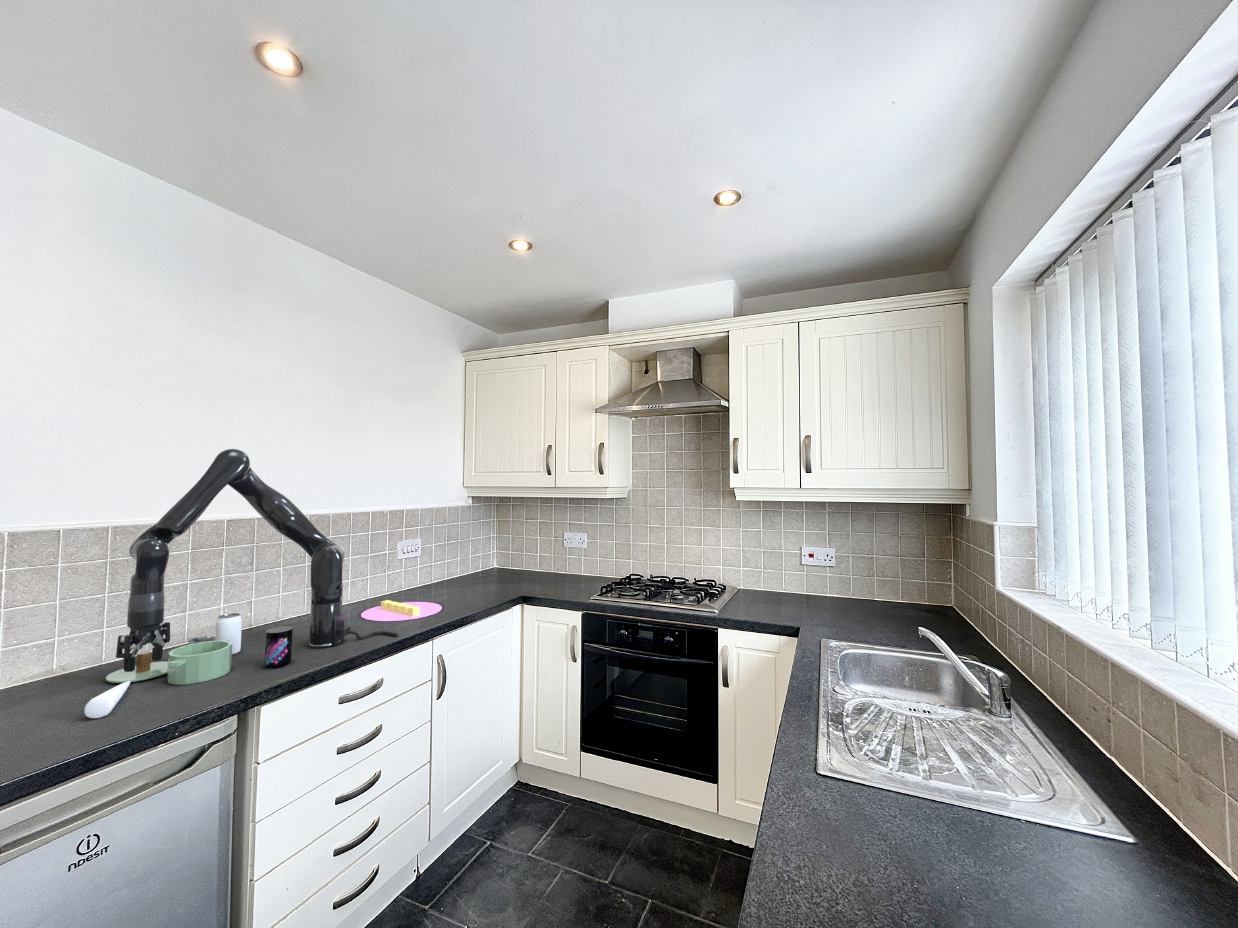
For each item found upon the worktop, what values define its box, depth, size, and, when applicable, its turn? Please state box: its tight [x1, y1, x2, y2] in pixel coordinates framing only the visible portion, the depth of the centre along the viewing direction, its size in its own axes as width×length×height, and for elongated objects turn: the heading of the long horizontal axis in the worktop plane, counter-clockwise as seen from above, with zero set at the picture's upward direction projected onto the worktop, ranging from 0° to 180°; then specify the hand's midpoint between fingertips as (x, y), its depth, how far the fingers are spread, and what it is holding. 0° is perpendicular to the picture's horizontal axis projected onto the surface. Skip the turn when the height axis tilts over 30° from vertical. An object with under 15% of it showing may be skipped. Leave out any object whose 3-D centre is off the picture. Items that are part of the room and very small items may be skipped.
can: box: [214, 612, 243, 656], centre depth 156 cm, size 6×6×12 cm
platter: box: [360, 599, 443, 622], centre depth 209 cm, size 32×32×3 cm
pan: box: [166, 640, 233, 686], centre depth 138 cm, size 14×19×8 cm
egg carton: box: [187, 635, 215, 645], centre depth 159 cm, size 11×8×4 cm
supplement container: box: [264, 625, 294, 669], centre depth 146 cm, size 7×7×10 cm
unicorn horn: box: [83, 681, 132, 719], centre depth 122 cm, size 5×24×5 cm, turn 29°
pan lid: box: [105, 650, 168, 684], centre depth 138 cm, size 15×15×6 cm
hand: (143, 665), depth 138 cm, fingers open, 8 cm apart
